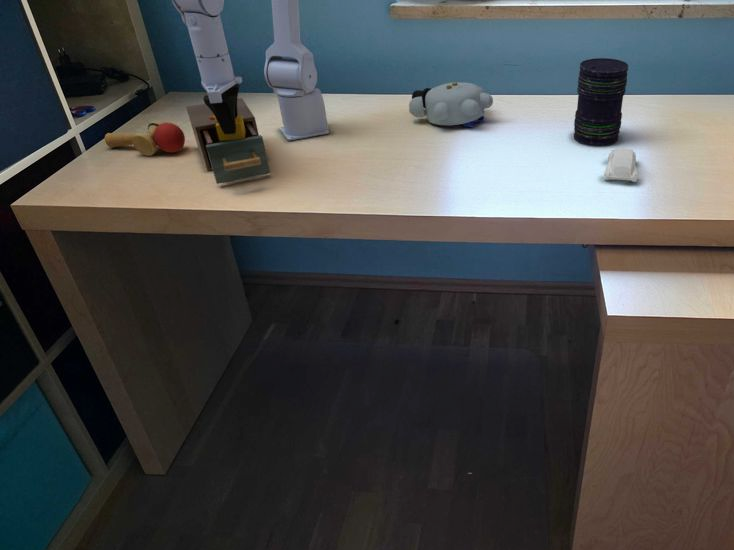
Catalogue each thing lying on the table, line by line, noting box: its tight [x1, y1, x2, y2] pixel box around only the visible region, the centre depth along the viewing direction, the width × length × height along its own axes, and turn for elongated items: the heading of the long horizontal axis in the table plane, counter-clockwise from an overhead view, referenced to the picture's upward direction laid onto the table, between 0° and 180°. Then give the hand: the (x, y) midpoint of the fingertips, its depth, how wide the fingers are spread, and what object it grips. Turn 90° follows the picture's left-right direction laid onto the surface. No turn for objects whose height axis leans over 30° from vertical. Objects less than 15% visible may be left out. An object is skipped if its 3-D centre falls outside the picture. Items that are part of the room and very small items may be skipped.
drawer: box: [202, 122, 271, 185], centre depth 123 cm, size 17×10×7 cm, turn 26°
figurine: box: [408, 81, 494, 128], centre depth 146 cm, size 17×8×20 cm
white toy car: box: [603, 147, 639, 183], centre depth 122 cm, size 12×6×5 cm, turn 168°
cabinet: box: [185, 97, 260, 172], centre depth 131 cm, size 13×11×9 cm
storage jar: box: [573, 57, 629, 147], centre depth 133 cm, size 10×10×15 cm
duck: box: [209, 115, 246, 141], centre depth 121 cm, size 6×3×5 cm, turn 100°
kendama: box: [104, 120, 186, 157], centre depth 135 cm, size 8×6×18 cm
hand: (231, 129), depth 122 cm, fingers closed on duck, 3 cm apart
